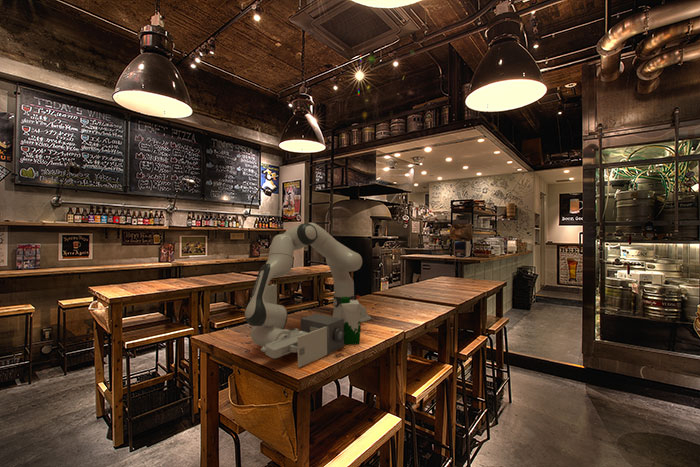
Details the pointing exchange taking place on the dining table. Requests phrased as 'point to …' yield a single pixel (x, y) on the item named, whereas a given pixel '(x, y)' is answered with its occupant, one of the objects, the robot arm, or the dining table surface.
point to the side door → (313, 346)
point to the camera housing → (322, 321)
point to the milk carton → (350, 320)
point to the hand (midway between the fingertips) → (304, 349)
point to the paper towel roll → (271, 294)
